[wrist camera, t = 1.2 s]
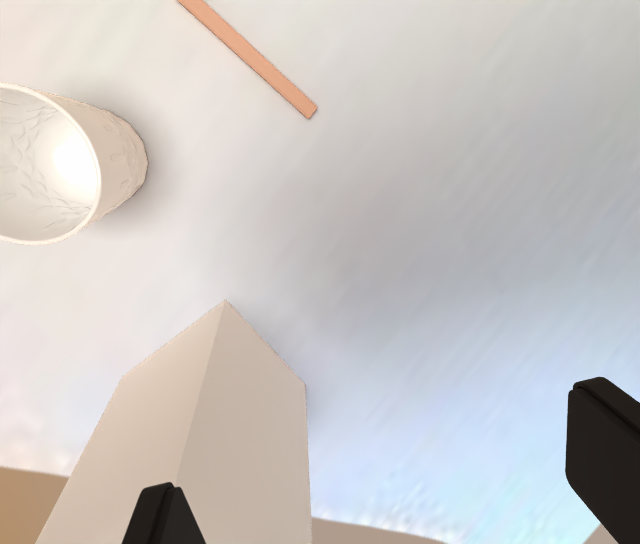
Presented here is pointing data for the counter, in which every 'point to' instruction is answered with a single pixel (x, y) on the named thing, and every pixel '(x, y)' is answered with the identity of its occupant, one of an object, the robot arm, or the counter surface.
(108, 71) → the counter surface
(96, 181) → the white cup
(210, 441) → the milk
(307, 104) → the strips
